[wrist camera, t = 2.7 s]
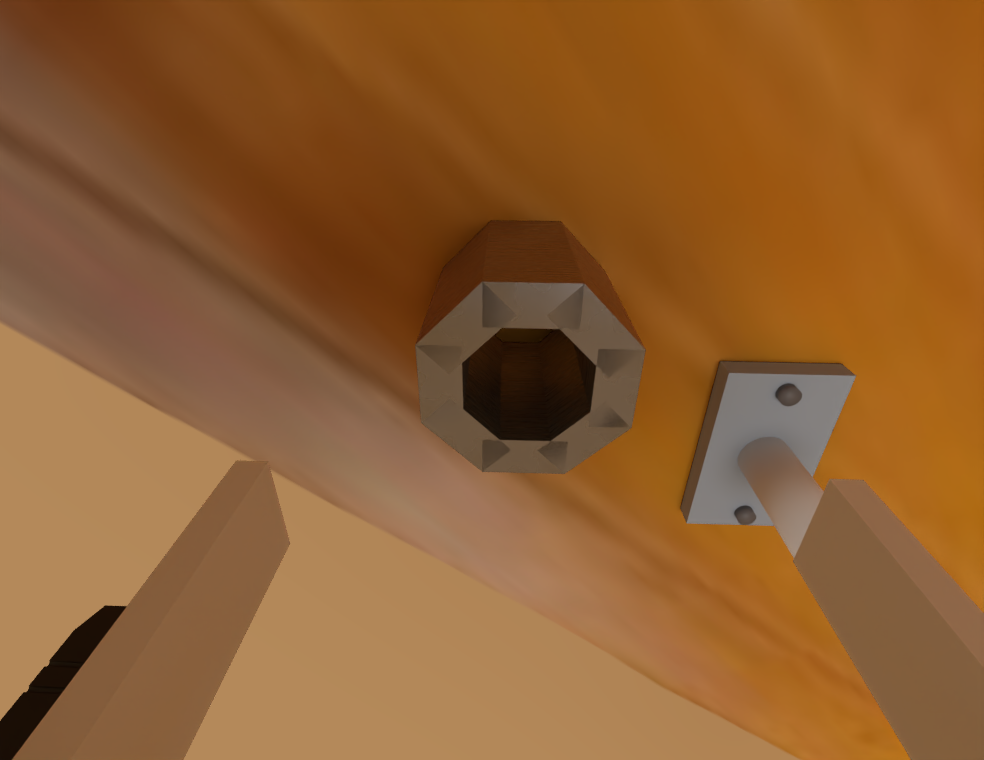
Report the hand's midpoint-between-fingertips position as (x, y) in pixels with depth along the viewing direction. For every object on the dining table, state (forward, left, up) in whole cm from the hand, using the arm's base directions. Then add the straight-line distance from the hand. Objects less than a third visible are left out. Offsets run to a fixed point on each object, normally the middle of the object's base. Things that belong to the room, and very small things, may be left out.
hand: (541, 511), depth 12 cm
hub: (0, 0, -13) cm, 14 cm away
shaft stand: (+13, -8, -13) cm, 20 cm away
